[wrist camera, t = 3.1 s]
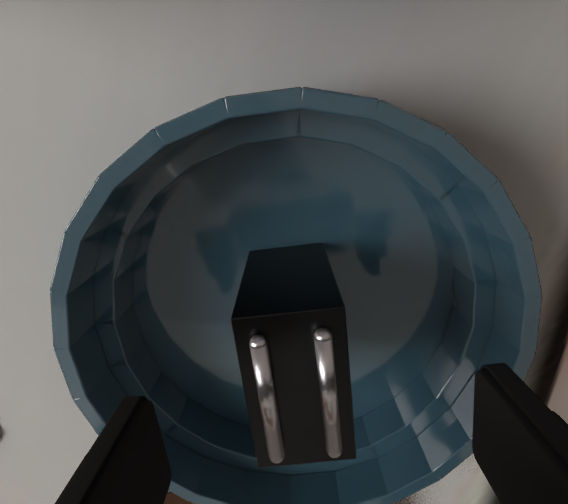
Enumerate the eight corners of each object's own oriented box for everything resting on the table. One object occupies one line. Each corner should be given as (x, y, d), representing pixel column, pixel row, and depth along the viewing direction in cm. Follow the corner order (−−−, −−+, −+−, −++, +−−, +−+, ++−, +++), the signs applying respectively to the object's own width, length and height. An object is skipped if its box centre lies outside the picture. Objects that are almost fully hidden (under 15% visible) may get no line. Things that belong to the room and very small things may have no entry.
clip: (266, 358, 18) (257, 481, 12) (248, 250, 16) (227, 327, 10) (333, 351, 18) (359, 471, 11) (323, 242, 16) (348, 314, 10)
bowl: (153, 460, 20) (123, 537, 16) (52, 129, 15) (-29, 129, 11) (473, 429, 19) (519, 503, 16) (492, 72, 14) (570, 50, 10)
